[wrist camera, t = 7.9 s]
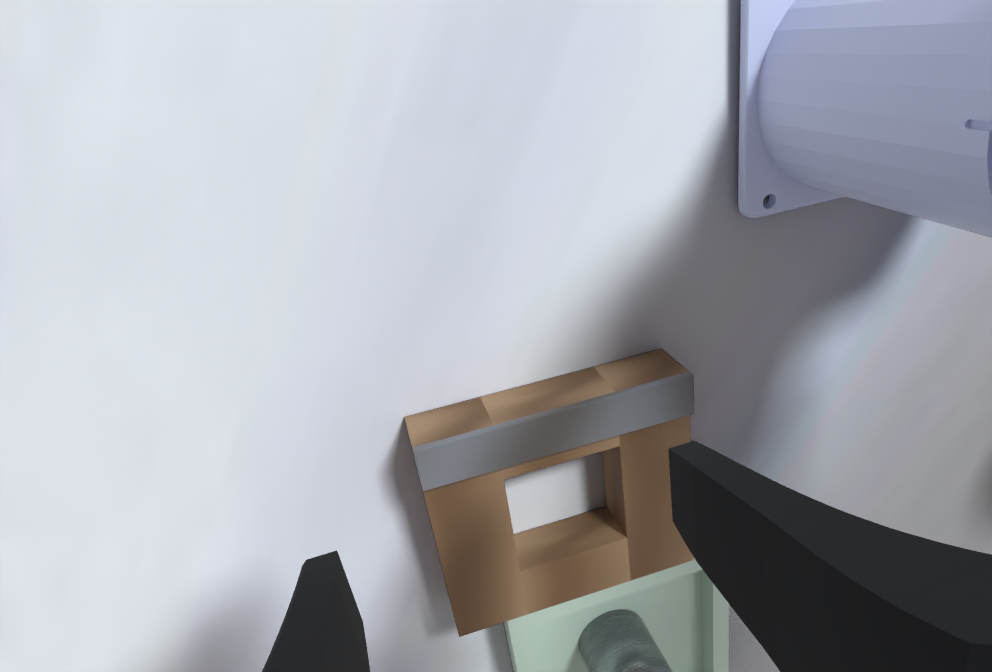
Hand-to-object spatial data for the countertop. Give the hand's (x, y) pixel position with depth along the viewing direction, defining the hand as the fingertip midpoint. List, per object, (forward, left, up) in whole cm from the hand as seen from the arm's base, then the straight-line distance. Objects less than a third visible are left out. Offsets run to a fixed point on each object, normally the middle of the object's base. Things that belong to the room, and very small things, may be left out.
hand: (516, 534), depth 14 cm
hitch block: (-3, +7, -10) cm, 13 cm away
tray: (-5, +17, -10) cm, 20 cm away
